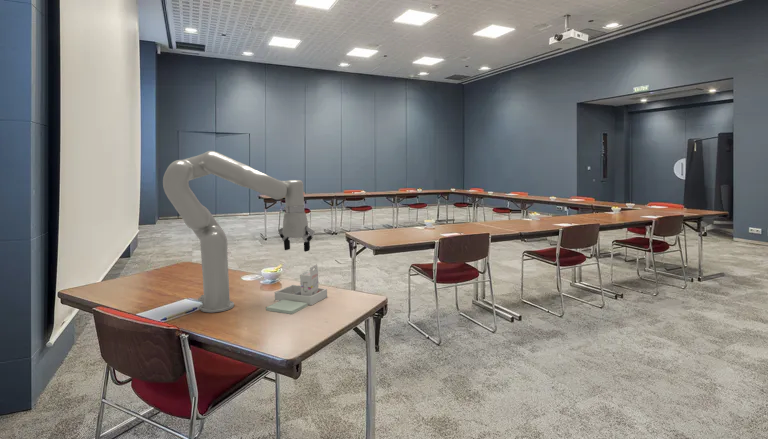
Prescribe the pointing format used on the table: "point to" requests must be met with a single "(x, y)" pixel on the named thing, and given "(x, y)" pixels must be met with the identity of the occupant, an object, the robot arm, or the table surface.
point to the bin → (299, 295)
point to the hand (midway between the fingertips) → (297, 250)
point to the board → (286, 306)
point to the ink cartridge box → (309, 282)
